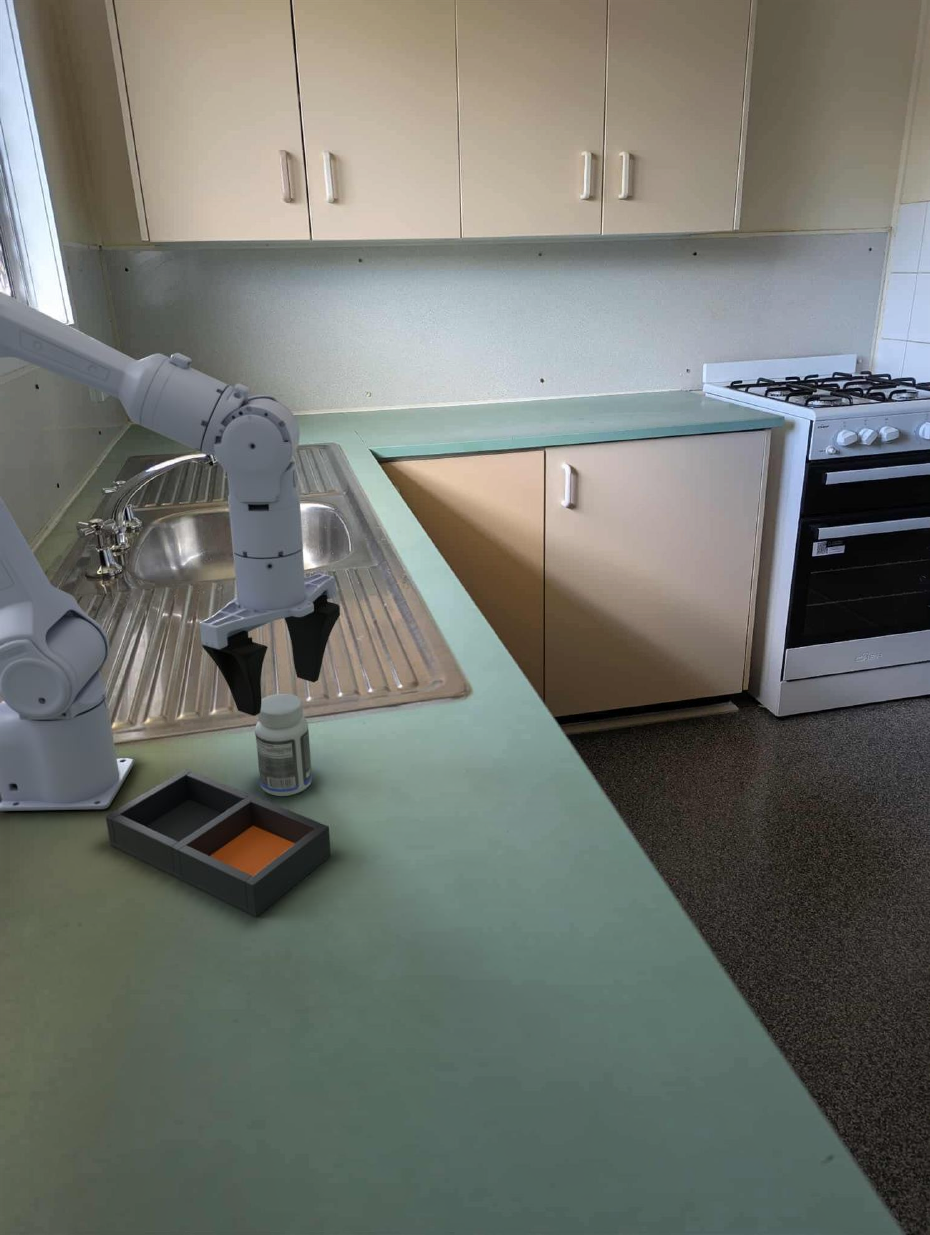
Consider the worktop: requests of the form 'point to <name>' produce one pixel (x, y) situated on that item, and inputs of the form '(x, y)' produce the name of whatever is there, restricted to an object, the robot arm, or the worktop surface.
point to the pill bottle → (283, 745)
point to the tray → (220, 840)
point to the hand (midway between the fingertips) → (279, 694)
